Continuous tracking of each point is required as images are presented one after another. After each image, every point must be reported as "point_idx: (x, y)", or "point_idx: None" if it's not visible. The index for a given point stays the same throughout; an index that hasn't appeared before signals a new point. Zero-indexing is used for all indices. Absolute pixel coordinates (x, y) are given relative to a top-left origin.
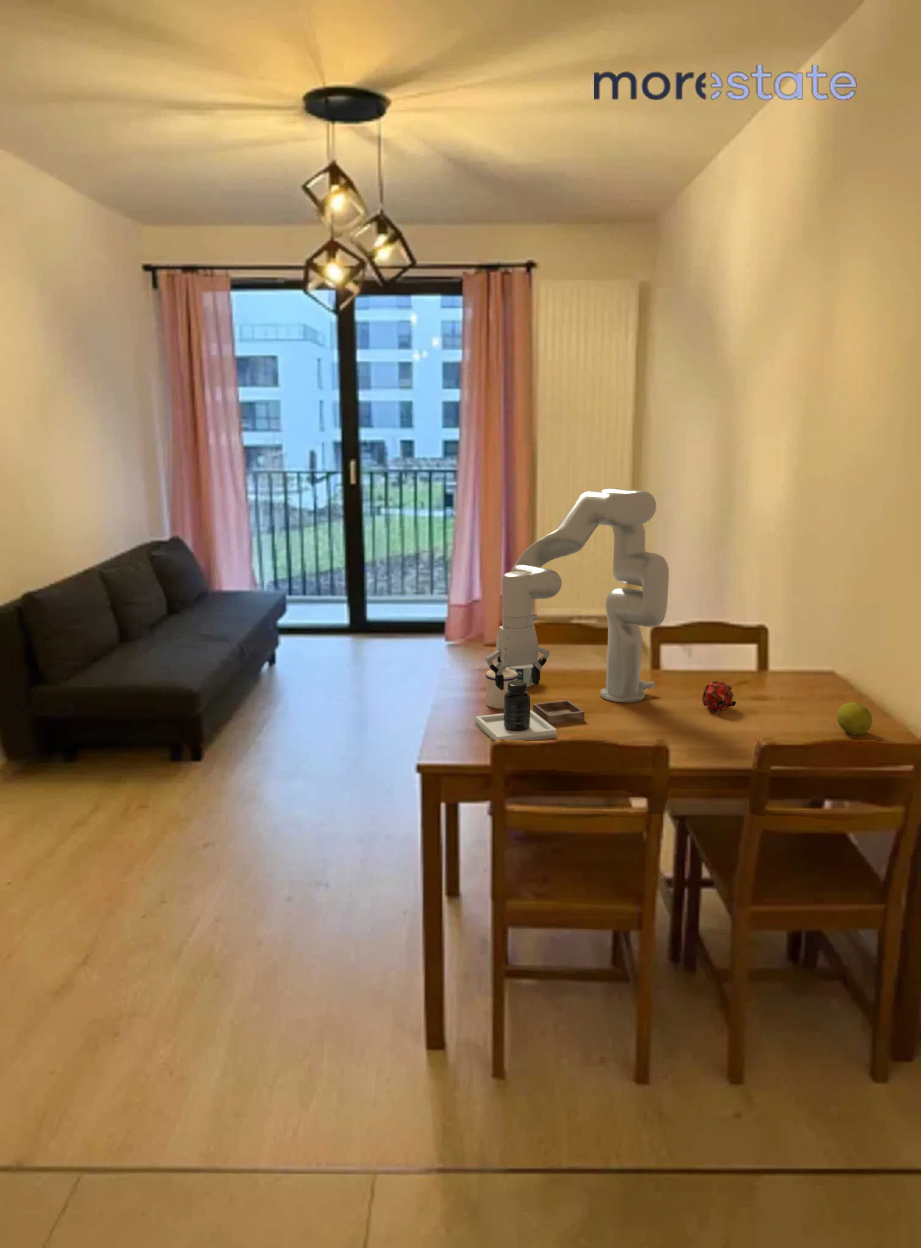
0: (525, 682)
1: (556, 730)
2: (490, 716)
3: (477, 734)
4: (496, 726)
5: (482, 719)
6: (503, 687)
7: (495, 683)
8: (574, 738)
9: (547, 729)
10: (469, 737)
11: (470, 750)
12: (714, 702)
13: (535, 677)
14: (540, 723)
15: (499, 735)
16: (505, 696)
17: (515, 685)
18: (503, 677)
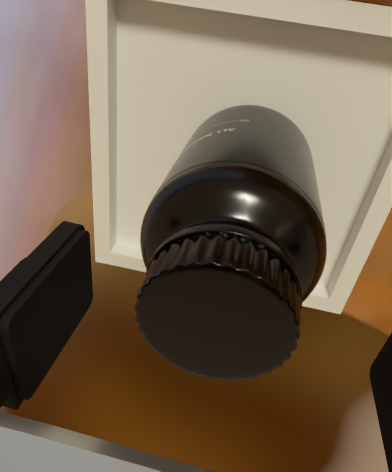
0: (287, 354)
1: (338, 311)
2: (171, 3)
3: (69, 118)
4: (165, 110)
5: (106, 38)
6: (81, 313)
7: (24, 259)
8: (382, 327)
9: (309, 296)
10: (29, 133)
11: (9, 237)
12: None
13: (387, 421)
14: (368, 195)
15: (106, 254)
16: (141, 242)
17: (169, 357)
18: (37, 384)
